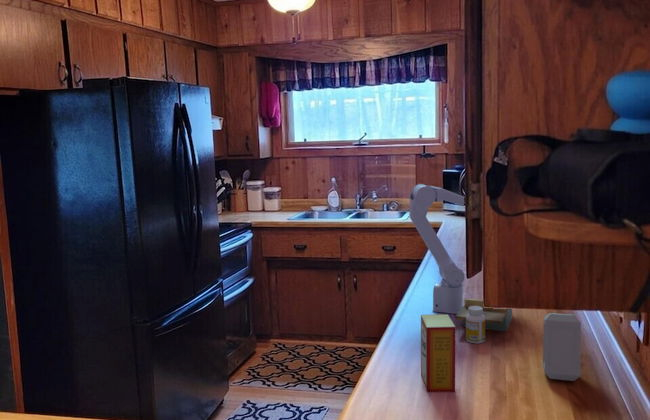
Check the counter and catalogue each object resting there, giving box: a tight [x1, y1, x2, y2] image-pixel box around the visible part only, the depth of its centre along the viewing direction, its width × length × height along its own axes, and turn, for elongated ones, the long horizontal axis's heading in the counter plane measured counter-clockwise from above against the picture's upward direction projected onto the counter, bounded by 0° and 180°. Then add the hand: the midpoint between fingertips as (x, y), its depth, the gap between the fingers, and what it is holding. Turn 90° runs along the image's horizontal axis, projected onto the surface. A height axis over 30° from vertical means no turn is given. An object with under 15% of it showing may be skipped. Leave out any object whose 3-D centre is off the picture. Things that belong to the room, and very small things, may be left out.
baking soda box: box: [420, 313, 456, 393], centre depth 140 cm, size 10×6×16 cm
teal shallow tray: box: [461, 308, 513, 332], centre depth 183 cm, size 13×11×4 cm
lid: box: [454, 297, 508, 325], centre depth 175 cm, size 13×11×4 cm
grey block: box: [542, 312, 582, 382], centre depth 152 cm, size 15×8×30 cm
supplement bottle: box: [465, 306, 486, 344], centre depth 168 cm, size 5×5×10 cm
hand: (495, 280), depth 197 cm, fingers closed
